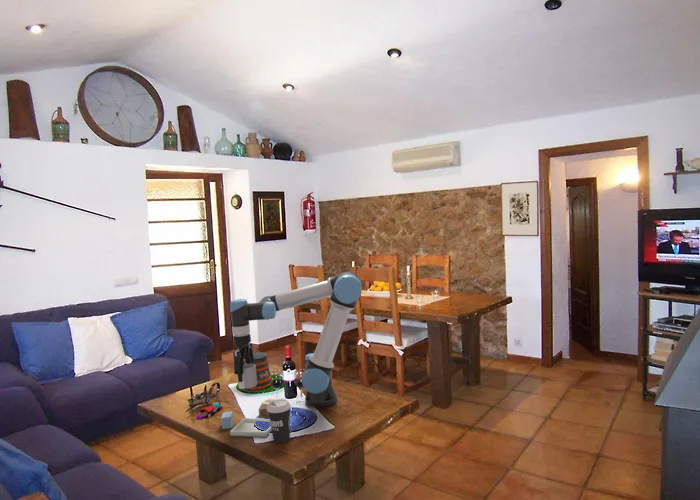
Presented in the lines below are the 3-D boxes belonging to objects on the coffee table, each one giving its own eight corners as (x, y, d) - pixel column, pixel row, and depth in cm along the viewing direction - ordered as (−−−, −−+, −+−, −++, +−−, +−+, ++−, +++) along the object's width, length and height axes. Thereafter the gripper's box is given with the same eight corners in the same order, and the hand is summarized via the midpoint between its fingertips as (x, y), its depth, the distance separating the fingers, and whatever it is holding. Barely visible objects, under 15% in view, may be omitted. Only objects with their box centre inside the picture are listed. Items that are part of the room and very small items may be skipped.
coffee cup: (270, 435, 202) (267, 399, 201) (294, 432, 203) (290, 397, 202) (268, 446, 193) (265, 408, 192) (293, 443, 194) (290, 406, 192)
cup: (247, 389, 215) (245, 369, 215) (233, 385, 222) (231, 366, 221) (260, 384, 221) (258, 364, 220) (247, 380, 227) (245, 361, 227)
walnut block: (272, 415, 223) (271, 404, 223) (271, 419, 218) (270, 408, 218) (261, 416, 223) (260, 405, 223) (259, 420, 218) (258, 409, 218)
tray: (278, 423, 214) (278, 418, 213) (266, 437, 201) (266, 432, 201) (244, 422, 217) (243, 418, 217) (230, 436, 205) (230, 431, 205)
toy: (204, 421, 223) (228, 408, 236) (203, 413, 222) (227, 400, 235) (192, 419, 227) (216, 406, 240) (191, 410, 226) (215, 398, 239)
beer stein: (232, 387, 264) (228, 350, 262) (251, 378, 276) (248, 343, 275) (259, 392, 254) (255, 353, 252) (277, 382, 266) (274, 346, 264)
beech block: (270, 406, 234) (269, 398, 233) (277, 407, 232) (276, 399, 231) (262, 411, 228) (261, 403, 228) (269, 412, 226) (268, 404, 226)
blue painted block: (233, 422, 219) (232, 411, 218) (231, 428, 213) (230, 416, 212) (224, 423, 218) (223, 412, 218) (222, 429, 212) (221, 418, 212)
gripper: (244, 328, 230) (249, 377, 231) (222, 340, 210) (227, 393, 212) (259, 328, 228) (264, 377, 229) (238, 340, 208) (243, 393, 210)
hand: (246, 385), depth 221 cm, fingers closed on cup, 7 cm apart
